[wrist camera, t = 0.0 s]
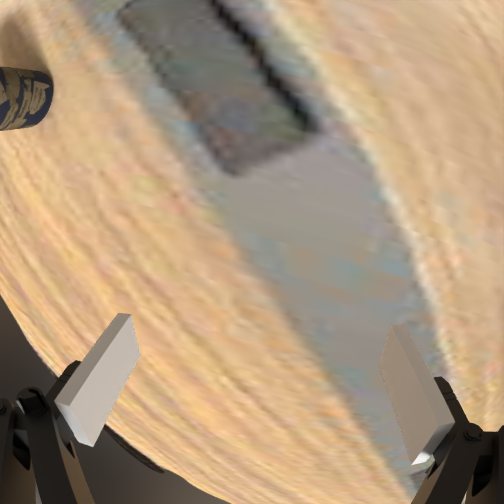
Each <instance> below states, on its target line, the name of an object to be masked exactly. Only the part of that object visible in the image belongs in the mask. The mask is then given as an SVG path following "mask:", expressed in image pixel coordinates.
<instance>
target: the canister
mask: <svg viewBox="0 0 504 504" xmlns="http://www.w3.org/2000/svg"><path fill="white" fill-rule="evenodd" d="M52 95H53V90H52V84H51V81H50V79H49V77H48V76H47V75H46V74H44V73H42V72H39V71H32V70H25V69H17V68H10V67H0V131H4V130H13V129H21V128H29V127H33V126H35V125H37V124H38V123H39V122H40V121H41V120H42V119H43V118H44V117H45V115H46V114H47V112H48V110H49V108H50V105H51V101H52Z"/></svg>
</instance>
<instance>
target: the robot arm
mask: <svg viewBox="0 0 504 504" xmlns="http://www.w3.org/2000/svg"><path fill="white" fill-rule="evenodd" d="M140 356H141V355H140V351H139V347H138V343H137V338H136V334H135V329H134V325H133V320H132V315H131V314H124V313H118V314H117V315H116V317H115V318H114V319H113V321H112V322H111V323H110V325H109V326H108V327H107V328H106V330H105V331H104V332H103V334H102V335H101V336H100V338H99V339H98V340H97V342H96V343H95V344H94V346H93V347H92V348H91V350H90V351H89V353H88V354H87V355H86V357H85V358H84V359H83V361H82V362H81V361H77V360H76V361H74V362H73V363H71V364H70V365H68V366H67V368H66V369H65V370H64V372H63V373H62V375H61V376H60V377H59V378H58V381H56V383H55V384H54V385H53V387H52V388H51V390H50V391H49V392H48V394H47V395H46V397H44V395H43V393H42V391H41V390H40V389H39V388H36V387H27V388H25V389H23V390H22V391H20V392H19V394H18V395H17V398H16V402H17V403H18V405H19V408H18V407H13V405H12V404H11V402H10V401H9V400H8V399H4V398H1V399H0V504H36V501H35V500H36V499H35V479H36V483H37V486H38V490H39V494H40V498H41V501H42V504H95V502H94V500H93V498H92V496H91V493H90V490H89V488H88V485H87V483H86V480H85V477H84V475H83V472H82V469H81V466H80V464H79V461H78V458H77V455H76V451H75V448H74V445H73V443H72V441H71V439H72V437H73V435H75V437H76V438H77V440H78V442H80V443H83V444H86V445H89V446H92V447H93V446H94V444H95V442H96V440H97V438H98V436H99V434H100V432H101V430H102V428H103V426H104V424H105V422H106V420H107V418H108V416H109V414H110V412H111V410H112V408H113V406H114V404H115V403H116V401H117V399H118V397H119V395H120V393H121V391H122V389H123V387H124V385H125V383H126V382H127V380H128V378H129V376H130V374H131V372H132V370H133V369H134V367H135V365H136V363H137V361H138V359H139V357H140ZM379 369H380V371H381V374H382V377H383V380H384V382H385V385H386V388H387V391H388V394H389V396H390V399H391V402H392V405H393V408H394V411H395V414H396V417H397V420H398V423H399V426H400V429H401V432H402V435H403V439H404V442H405V445H406V448H407V451H408V455H409V458H410V461H411V465H413V464H418V463H422V462H426V461H428V459H429V458H430V457H431V456H432V454H433V456H434V459H435V461H434V462H433V464H432V465H431V466H430V467H429V468H428V470H427V471H426V472H425V473H428V474H427V476H426V477H425V479H424V481H423V483H422V485H421V487H420V489H419V490H418V492H417V494H416V496H415V498H414V499H413V501H412V503H411V504H461V503H462V501H463V498H464V496H465V494H466V500H465V504H504V425H503V426H502V427H501V428H500V429H499V431H498V432H484V431H483V430H482V429H481V428H480V427H479V426H478V425H476V424H474V423H469V421H468V419H467V417H466V415H465V413H464V411H463V409H462V407H461V405H460V403H459V401H458V400H457V399H456V396H455V394H454V393H453V390H452V388H451V386H450V385H449V383H448V382H447V381H446V380H445V379H443V378H442V377H434V378H433V376H432V374H431V372H430V370H429V368H428V367H427V365H426V363H425V361H424V359H423V357H422V356H421V354H420V352H419V350H418V348H417V346H416V345H415V343H414V341H413V339H412V338H411V336H410V334H409V332H408V331H407V329H406V327H405V325H404V324H401V325H390V329H389V333H388V336H387V340H386V343H385V346H384V350H383V353H382V356H381V359H380V363H379ZM466 491H467V493H466Z"/></svg>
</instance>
